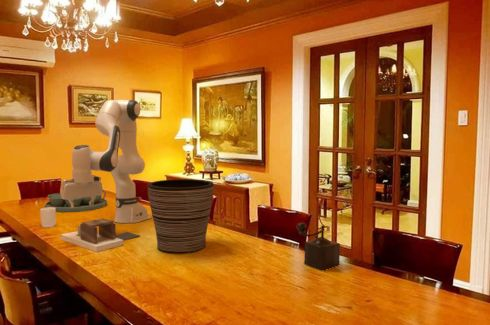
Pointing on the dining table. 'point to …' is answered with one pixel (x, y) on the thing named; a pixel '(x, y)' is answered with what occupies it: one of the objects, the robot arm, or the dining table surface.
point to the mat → (126, 236)
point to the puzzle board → (102, 243)
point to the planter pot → (181, 213)
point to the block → (79, 231)
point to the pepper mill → (320, 250)
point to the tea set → (81, 203)
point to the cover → (90, 230)
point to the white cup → (48, 216)
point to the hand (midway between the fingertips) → (82, 206)
